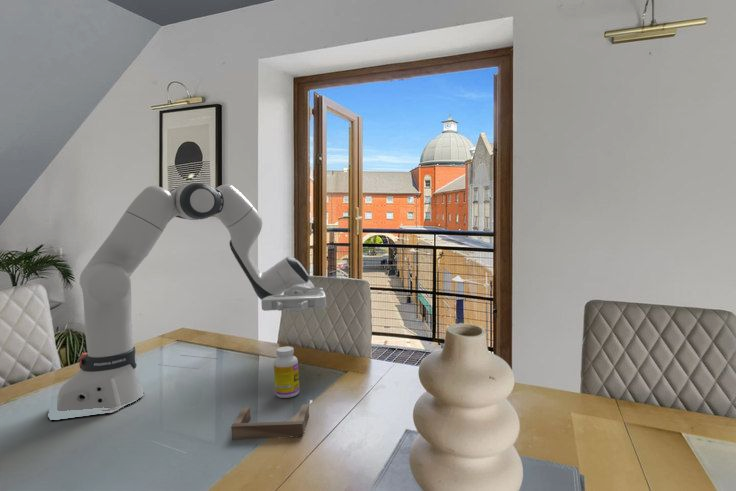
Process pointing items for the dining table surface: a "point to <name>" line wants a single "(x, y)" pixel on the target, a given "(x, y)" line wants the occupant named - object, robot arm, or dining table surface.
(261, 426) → the walnut bay
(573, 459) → the dining table surface
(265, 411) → the dining table surface
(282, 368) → the supplement bottle
